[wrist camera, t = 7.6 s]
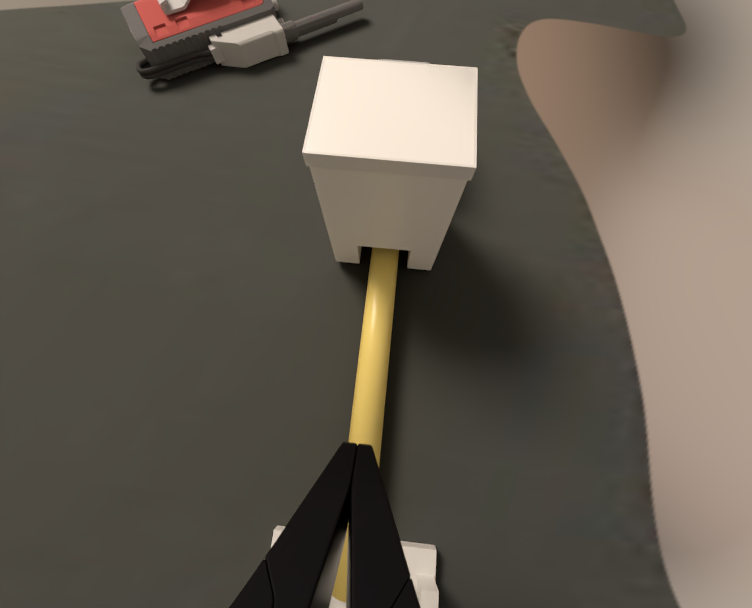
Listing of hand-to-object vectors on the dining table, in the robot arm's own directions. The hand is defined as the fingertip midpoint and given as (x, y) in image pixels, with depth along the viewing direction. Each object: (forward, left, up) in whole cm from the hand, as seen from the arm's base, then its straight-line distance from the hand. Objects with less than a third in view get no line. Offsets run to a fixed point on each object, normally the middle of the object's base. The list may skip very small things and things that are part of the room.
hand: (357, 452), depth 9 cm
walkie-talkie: (+24, -26, -10) cm, 37 cm away
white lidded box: (+4, -12, -10) cm, 16 cm away
